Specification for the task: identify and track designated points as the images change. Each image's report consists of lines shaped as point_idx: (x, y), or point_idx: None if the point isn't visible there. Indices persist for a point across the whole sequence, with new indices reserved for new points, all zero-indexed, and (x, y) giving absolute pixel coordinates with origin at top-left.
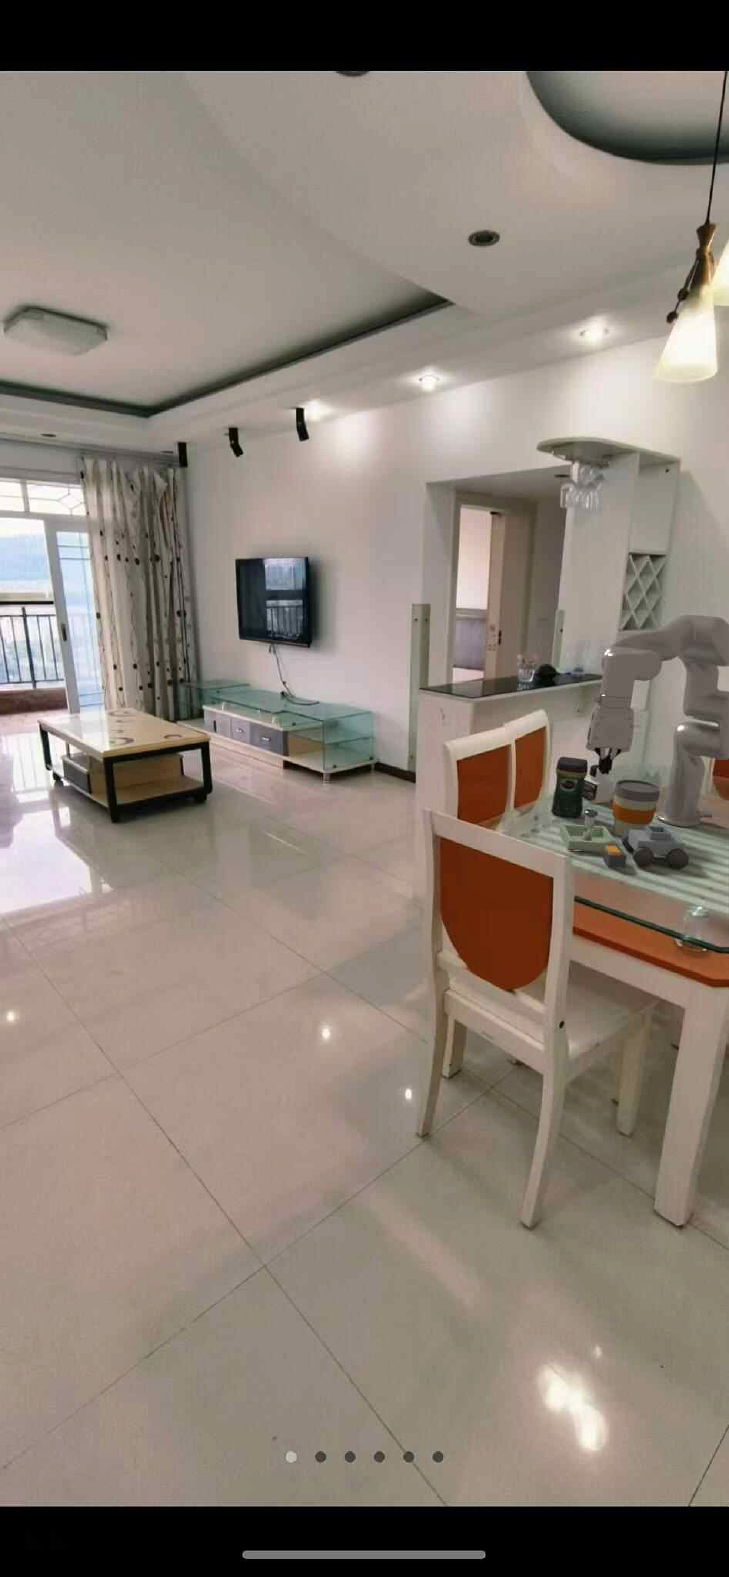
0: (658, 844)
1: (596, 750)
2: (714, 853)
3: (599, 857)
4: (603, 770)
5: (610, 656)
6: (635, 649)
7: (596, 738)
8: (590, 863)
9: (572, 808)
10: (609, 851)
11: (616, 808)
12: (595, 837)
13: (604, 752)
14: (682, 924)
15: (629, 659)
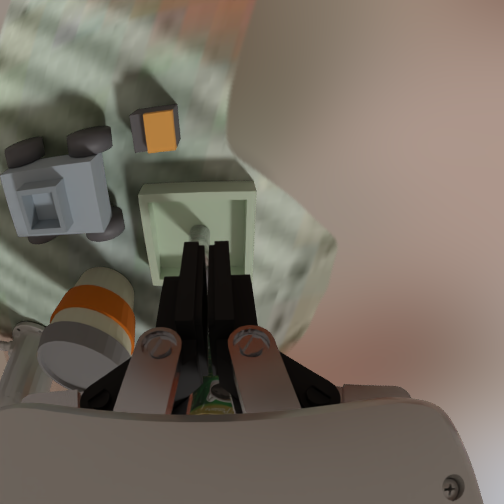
0: (48, 164)
1: (329, 390)
2: None
3: (185, 156)
4: (225, 255)
5: None
6: None
7: (439, 491)
8: (215, 117)
9: (209, 349)
10: (172, 117)
11: (127, 323)
12: (176, 254)
13: (249, 379)
14: None
15: None
